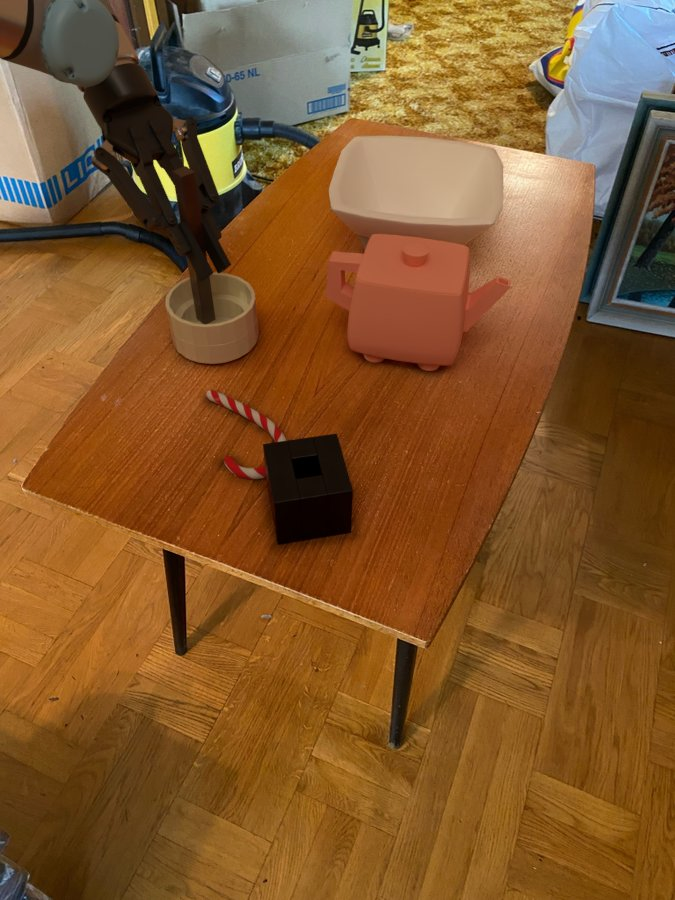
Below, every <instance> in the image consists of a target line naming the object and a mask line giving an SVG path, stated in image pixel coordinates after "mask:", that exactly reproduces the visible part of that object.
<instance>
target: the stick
mask: <svg viewBox="0 0 675 900" xmlns="http://www.w3.org/2000/svg"><path fill="white" fill-rule="evenodd" d="M184 166H185V167H182V168H179V169H176V170H174V171H172V173H173V179H174V184H173V186H174V185H175V186H174V191H175V198H176V202H177V203H176V204H177V209H178V216H179V221H180V222H182V221H186V223H187V225H188V226H189V228H190V230H191V232H192V234H193V235H194V237H195V239H196V241H197V243H198V245H199V247H200V248H201V250H202V252H203V254H204V256H205V258H206V260H207V261H208V254H207V252H206V248H205V241H204V234H203V227H202V219H201V212H200V205H199V198H198V191H197V184H196V177H195V172H194V171H192V170H191V169H190V168H189V166H187V165H184ZM185 258H186V263H187V269H188V275H189V276H188V277H190V282H191V288H192V294H193V300H194V306H195V312H196V318H197V320H199V321H200V322H201V323H202V324H208V323H210V322H212V321H214V320H216V318H215V311H214V304H213V297H212V290H211V283H210V276H209V277H208V278H207V279H206V280H204V281H200V279H199V278H198V276H197V274H196V272H195V270H194V268H193V267H192V265H191V263H190V261H189V259H188V257H187V255H185Z"/></svg>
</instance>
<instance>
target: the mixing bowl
mask: <svg viewBox="0 0 675 900" xmlns="http://www.w3.org/2000/svg"><path fill="white" fill-rule="evenodd" d="M210 283H211V290H212V297H213V304H214V311H215V318H216V320H214V321H212V322H210V323H208V324H202V323H201V322H200V321H199V320H197V318H196V312H195V306H194V300H193V294H192V288H191V282H190V276H188V277H186V278H184V279H182V280H180V281H178V282H177V283H176V284H174V286H172V287H171V288H170V289H169V291H168V292H167V295H166V296H165V301H164V302H165V310H166V316H167V321H168V325H169V331H170V336H171V339H172V344H173V346H174V348H175V350H176V351H177V353H178V354H180V355H181V356H182V357H184V358H185V359H186V360H190V361H192V362H196V363H199V364H208V365H216V364H225V363H228V362H232V361H234V360H237V359H240V358H241V357H243V356H245V355H246V354H248V353H249V352H250V351H251V350H252V349H253V348H254V347H255V346H256V345H257V342H258V339H259V336H260V332H259V321H258V320H259V319H258V310H257V299H256V292H255V289H254V288H253V287H252V285H251V283H250V282H249V281H246V280H245V279H244V278H242V277H240V276H237V275H233V274H231V273H226V272H221V273H219V274H218V272H217V271H215V272H214V271H213V274H212V275H210Z"/></svg>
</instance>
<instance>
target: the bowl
mask: <svg viewBox="0 0 675 900" xmlns="http://www.w3.org/2000/svg"><path fill="white" fill-rule="evenodd" d="M328 196H329V198H328V199H329V205H330V210H331V212H332V213H333V214H334V215H335V216H337V217H338V219H340V220H341V221H342V222H343V223H344V224H345V225H346V226H347V227H348V228H349V229H350V230H351V231H352V232H353V233H354V234H355V235H357V236H358V238H359V241H360V245H361V246H362V249H363V250H364V252H365V249H366V246H367V244H368V241H369V239H370V237H371V236H372V235H373V234H389V235H400V236H409V237H418V238H426V239H432V240H439V241H445V242H451V243H456V244H461V245H465V246H466V245H467V244H468V243H469V242H471V241H473V240H474V239H476V238H477V237H478V236H480V235H482V234H483V233H485V232H486V231H488V230H489V229H490V228H492V227H493V226H495V224H496V221H497V219H498V217H499V216H500V213H501V212H502V210H503V208H504V163H503V162H502V159H501V158H500V155H499V154H498V152H497V149H495V148H494V147H490V146H485V145H481V144H476V143H470V142H466V141H458V140H450V139H443V138H436V137H429V136H428V137H426V136H408V135H407V136H406V135H384V134H383V135H357V136H354V137H353V138H352V139H351V140H350V141H349V142H348V143H347V144H346V145H345V146H344V147H343V148H342V150H341V151H340V154H339V156H338V159H337V163H336V165H335V167H334V171H333V174H332V177H331V181H330V184H329V187H328Z"/></svg>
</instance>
